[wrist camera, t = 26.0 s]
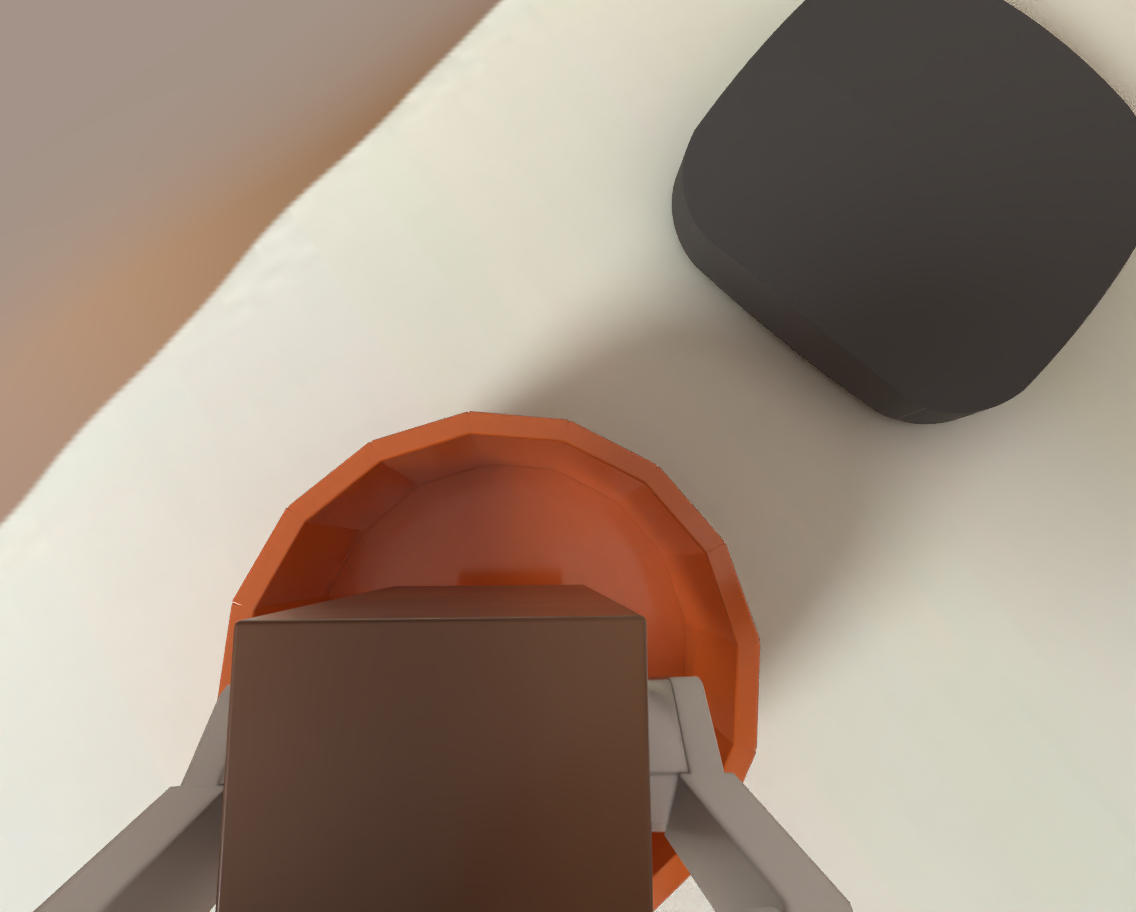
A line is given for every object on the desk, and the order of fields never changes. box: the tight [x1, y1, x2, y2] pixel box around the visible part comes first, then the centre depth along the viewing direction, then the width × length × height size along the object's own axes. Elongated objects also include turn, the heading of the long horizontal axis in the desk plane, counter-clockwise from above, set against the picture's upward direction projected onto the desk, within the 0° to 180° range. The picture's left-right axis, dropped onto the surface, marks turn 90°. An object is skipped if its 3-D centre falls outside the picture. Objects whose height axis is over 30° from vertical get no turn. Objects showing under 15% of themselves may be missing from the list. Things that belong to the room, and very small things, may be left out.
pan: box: [217, 411, 760, 911], centre depth 20 cm, size 13×13×6 cm
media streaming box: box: [672, 0, 1136, 424], centre depth 24 cm, size 15×15×3 cm
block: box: [215, 584, 653, 912], centre depth 11 cm, size 5×5×8 cm
